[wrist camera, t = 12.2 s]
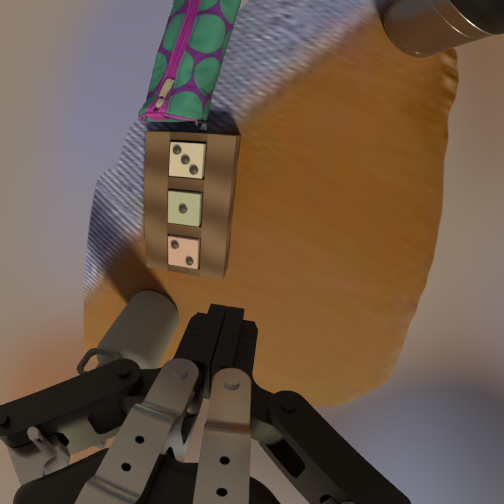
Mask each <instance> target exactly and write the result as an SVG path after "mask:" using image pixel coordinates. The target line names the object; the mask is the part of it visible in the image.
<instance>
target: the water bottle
mask: <svg viewBox="0 0 504 504" xmlns="http://www.w3.org/2000/svg"><path fill="white" fill-rule="evenodd" d="M178 320H179V317H178V312H177V310H176V308H175V306H174V304H173V303H172V302H171V301H170V300H169V299H168V298H167V297H165V296H164V295H162V294H160V293H158V292H155V291H149V290H148V291H141V292H139V293H137V294H135V295H134V296H133V298H132V299H131V300H130V301H129V303H128V304H127V306H126V307H125V308H124V310H123V311H122V312H121V314H120V315H119V316H118V318H117V319H116V320H115V322H114V323H113V325H112V326H111V327H110V329H109V330H108V332H107V333H106V334H105V336H104V337H103V339H102V340H101V341H100V343H99V345H98V347H97V348H93V349H90V350H89V351H88V352H87V353H86V354H85V356H84V357H83V359H82V360H81V362H80V363H79V364H78V366H77V371H78V373H79V374H80V375H81V374H84V373H86V372H87V371H84V370H83V369H84V366H85V365H86V363H87V362H88V360H89V359H90V358H91V357H92V356H93V355H96V354H97V359H98V362H99V364H98V366H97V367H96V368H98V367H100V366H103V365H105V364H108V363H110V362H112V361H115V360H117V359H123V358H125V359H131V360H133V361H135V362H136V363H137V364H138V365H139V366H140V369H157V368H158V366H159V364H160V361H161V359H162V357H163V355H164V353H165V351H166V348H167V346H168V344H169V342H170V340H171V338H172V336H173V334H174V331H175V329H176V327H177V325H178ZM105 444H106V440H105V441H103V442H101V443H98V444H96V445H94V446H96V447H99V448H104V446H105Z"/></svg>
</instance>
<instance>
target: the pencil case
mask: <svg viewBox="0 0 504 504" xmlns="http://www.w3.org/2000/svg"><path fill="white" fill-rule="evenodd" d="M240 2H241V0H174V3H173V8H172V11H171V13H170V16H169V19H168V23H167V26H166V29H165V33H164V36H163V39H162V42H161V44H160V47H159V50H158V53H157V56H156V61H155V66H154V69H153V73H152V79H151V82H150V87H149V92H148V95H147V100H146V102H145V104H144V105H143V107H142V109H141V110H140V111H139V114H138V116H139V119H140V120H142V121H148V122H184V121H195V124H196V126H197V127H198V128H199V129H201V130H206V129H207V123H206V122H205V121H206V120H207V117H208V114H209V108H210V103H211V97H212V93H213V90H214V87H215V84H216V81H217V78H218V75H219V72H220V68H221V65H222V62H223V58H224V55H225V52H226V49H227V44H228V41H229V39H230V35H231V32H232V30H233V26H234V22H235V19H236V15H237V12H238V10H239V7H240ZM197 123H199V126H198V124H197Z"/></svg>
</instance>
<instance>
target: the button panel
mask: <svg viewBox="0 0 504 504" xmlns="http://www.w3.org/2000/svg"><path fill="white" fill-rule="evenodd" d="M240 138H241V135H234V134H223V133H210V132H195V131H171V130H155V131H147V132H146V141H145V167H144V218H145V245H146V263H147V267H151V268H156V269H162V270H168V271H174V272H179V273H185V274H191V275H197V276H203V277H209V278H215V279H222V280H223V279H224V276H225V273H226V271H227V268H228V260H229V248H230V237H231V226H232V216H233V205H234V195H235V185H236V175H237V166H238V157H239V147H240ZM172 140H188V141H204V142H207V152H206V165H205V178H204V179H200V178H190V177H179V176H169V162H170V145H171V142H172ZM170 188H171V189H182V190H191V191H201V192H203V209H202V225H199V227H198V226H190V225H183V224H175V223H168V191H170ZM169 234H175V235H183V236H190V237H197V238H201V250H200V265H199V267H198V269H194V268H188V267H182V266H176V265H170V264H168V236H169Z"/></svg>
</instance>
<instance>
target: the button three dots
mask: <svg viewBox="0 0 504 504" xmlns="http://www.w3.org/2000/svg"><path fill="white" fill-rule="evenodd" d="M206 152H207V143H205V142H190V141H174V142H171V145H170V162H169V176H179V177H190V178H200V179H201V178H203V177H204V176H205V165H206Z"/></svg>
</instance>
